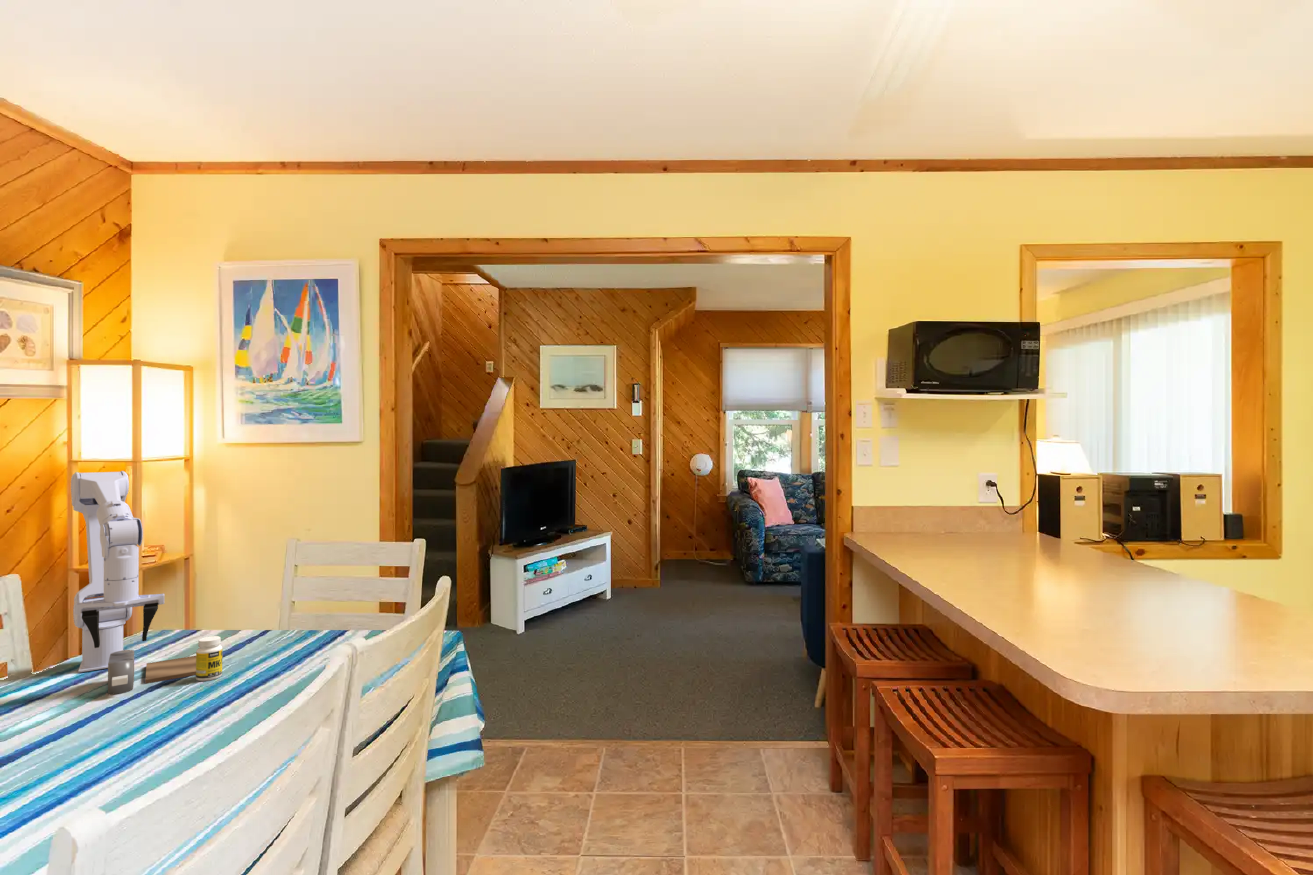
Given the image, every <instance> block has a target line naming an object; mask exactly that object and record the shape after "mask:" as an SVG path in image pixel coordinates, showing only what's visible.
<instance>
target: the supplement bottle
mask: <svg viewBox="0 0 1313 875" xmlns="http://www.w3.org/2000/svg"><path fill="white" fill-rule="evenodd" d="M221 642H222V640H221V636H218V635H214V636H205V637H201V638H199V639H198V643H197V644H198V648H197V649H196V652H195V656H196V675H195V680H196V681H198V682H208V681H213V680H216V679H220V677H222V675H223V646H222V645H221Z"/></svg>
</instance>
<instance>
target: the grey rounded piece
mask: <svg viewBox="0 0 1313 875" xmlns="http://www.w3.org/2000/svg"><path fill="white" fill-rule="evenodd" d="M134 683H135V650H133V649H126V650H124V649H123V651H117V652H114V653H111V654H110V657H109V662H108V668H107V694H108V695H111V696H113V695H115V696H116V695H121V694H126V693H130V692H131V691H133V690H134Z"/></svg>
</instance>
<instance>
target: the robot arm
mask: <svg viewBox="0 0 1313 875" xmlns="http://www.w3.org/2000/svg"><path fill="white" fill-rule="evenodd" d="M129 488H130V482H129V475H128V473H127V472H126V471H124V470H121V471H104V472H103V471H101V472H99V471H98V472H78V471H77V472H74V474H72V475H71V479H70V494H71V506H72V507H73V510H74V511H75V512H78V513H81V514H82V516H83V519H84V521H85V530H86V545H87V546H86V547H87V562H88V563H87V564H88V568H87V569H88V579H89V580H88V582H89V583H88V584H87V585H86V586H84V587H82V588H81V589H79V591H77V592H76V594H75V595H74V598H73V609H72V610H73V614H72V615H73V623H74V626H75V628H76V627H77V628H78V629H82V630H81V631H82V632H81V633H82V635H81V636H82V637H81V639H82V641H81V642H82V643H81V644H82V645H81V647H82V650H81V654H82V657H81V662H80V665H79V668H78V673H83V672H84V673H85V672H92V671H97V670H104V669H105V670H106V669H108V662H109V657H110V654H111V653H114V652H117V651H123V650H124V625H125V624H126V622H127V621H129V620H130V619H131V617H132V615H133V608H137V607H143V612H142V613H143V614H142V615H143V616H142V621H143V622H142V624H143V625H142V635H141V636H142V637H141V642H146V641H147V638H148V633H149V629H150V626H151V624H152V622H153V619H154V617H155V615H156V613H157V612H158V609H159V606H160V605H165V593H155V594H139V591H140V590H139V588H140V586H139V583H140V582H139V581H140V580H139V579H140V578H139V576H140V575H139V574H140V572H139V571H140V570H139V567H140V566H139V561H140V560H139V559H140V557H139V556H140V555H139V554H140V552H139V551H140V546H141V545H142V544H143V538H144V532H143V531H144V530H143V524H142V520H141V519H140V518H139V517H134V516H133V513H132V510H131V508H130V505H129V504H128V503H126V499H127V495H128V494H129Z"/></svg>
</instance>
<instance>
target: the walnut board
mask: <svg viewBox="0 0 1313 875" xmlns="http://www.w3.org/2000/svg"><path fill="white" fill-rule="evenodd" d="M193 676H196V655H191V656H184V657H179V658H173V659H172V658H171V659H167V660H160V661H159V660H158V661H152V662H147V663H146V667H145V679H144V680H145V682H144V683H145V684H151V683H158V682H163V681H168V680H176V679H181V678H186V677H193Z"/></svg>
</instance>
